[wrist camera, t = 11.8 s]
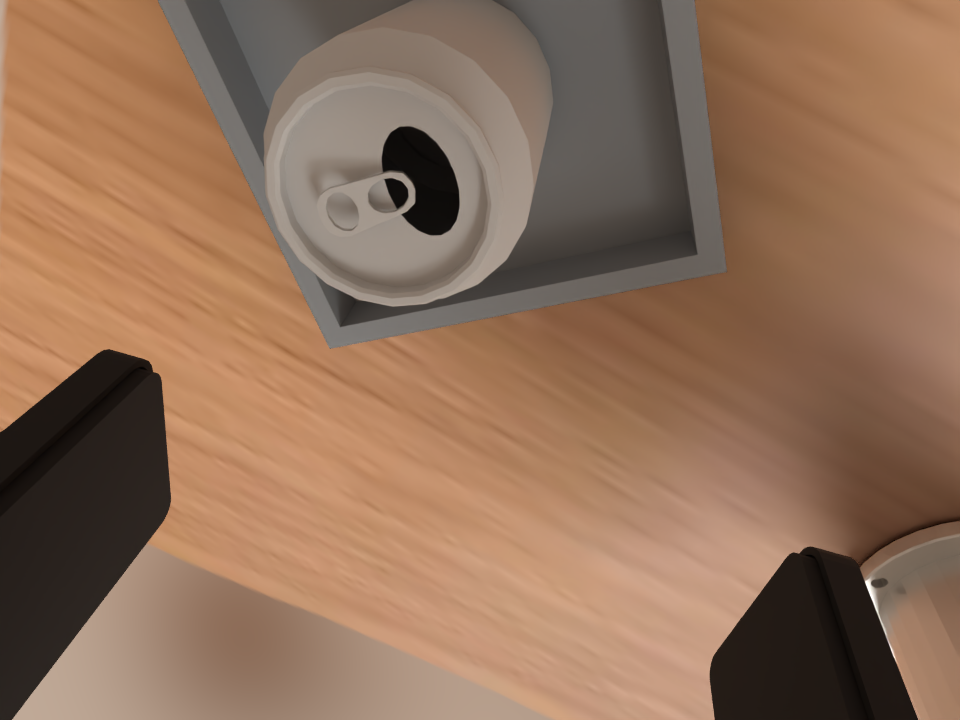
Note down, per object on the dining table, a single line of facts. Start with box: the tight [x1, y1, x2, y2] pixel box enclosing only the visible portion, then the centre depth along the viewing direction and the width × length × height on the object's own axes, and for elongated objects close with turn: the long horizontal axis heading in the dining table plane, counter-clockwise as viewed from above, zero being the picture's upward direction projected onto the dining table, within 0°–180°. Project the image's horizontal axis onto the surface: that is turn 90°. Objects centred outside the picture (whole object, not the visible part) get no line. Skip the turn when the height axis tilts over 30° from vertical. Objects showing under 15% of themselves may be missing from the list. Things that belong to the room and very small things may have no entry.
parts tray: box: [158, 0, 727, 349], centre depth 26 cm, size 18×18×3 cm
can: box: [264, 0, 553, 307], centre depth 21 cm, size 8×8×12 cm
